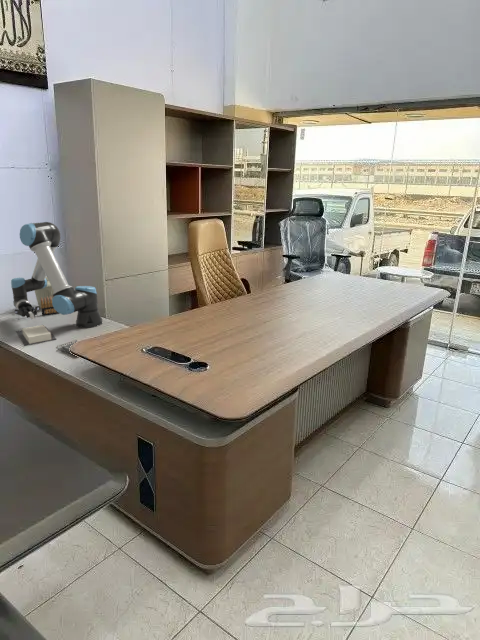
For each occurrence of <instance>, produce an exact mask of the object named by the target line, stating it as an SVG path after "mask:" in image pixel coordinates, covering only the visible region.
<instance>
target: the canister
mask: <svg viewBox="0 0 480 640" xmlns="http://www.w3.org/2000/svg"><path fill="white" fill-rule="evenodd" d="M46 280H47V286H46V287H45V288H42V289H39V290H34V293H35V299H36V303H37V305H38V308H40V309H41V297H42V300H43V304H44V297H45V299H46V303H47V297H48V299H49V303H50V296H51V299H53V292H54V290H53V288H52V286H51V284H50V282H49V280H48V278H47V276H46Z"/></svg>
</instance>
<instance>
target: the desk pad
mask: <svg viewBox="0 0 480 640" xmlns="http://www.w3.org/2000/svg"><path fill="white" fill-rule="evenodd" d="M46 329H47V330H48V331H49V332H50V333H51V338H52V339H51V340H47V341H41V342H36V343H31V344H29V342H28V341H27V340H26V338H25V337H24V335H23V331H22V329H21V330H17V331H15V334H16V335H17V336H18V338H19V340H21V342H22V343H23V346H24V347H25V346H31V345H35V344H37V345H38V344H40V343H42V344H43V343H47V342H51V341H52V342H53V341H57V338H56V337H55V335H54V334H53V333H52V332H51V331H50V330H49V329H48V328H47V327H46Z"/></svg>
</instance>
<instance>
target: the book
mask: <svg viewBox="0 0 480 640" xmlns="http://www.w3.org/2000/svg"><path fill="white" fill-rule="evenodd" d="M46 328H47V326H45V325H43V324H41V325H35V326H29V327H23V328H21V330H22V331H23V335H24V337H25V338H26V340H27V341H28V342H29V344H31V343H36V342H41V341H47V340H51V339H52V338H51V333H52V332H51V331H50V330H49V329H48V328H47V329H48V330H49V331H50V332H51V333H50V332H49V331H48V330H47V329H46ZM47 342H48V341H47ZM31 345H32V344H31Z"/></svg>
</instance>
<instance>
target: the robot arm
mask: <svg viewBox="0 0 480 640" xmlns="http://www.w3.org/2000/svg"><path fill="white" fill-rule="evenodd" d="M19 239H20V241H21V244H22V245H24V246H26V247H28V248H29V250H30V251H32V252H34V253H35V256H36V257H37V260H36V263H35V266H34V270H33V273H32V275H31V278H28V279H25V278H24V277H15V278H14V277H13V278H12V279H11V282H10V284H11V290H12V296H13V301H12V302H13V303H12V304H13V306H14V307H15V309H14V314H15V315H18V316H19V317H20V316H21V317H26V318H28V319H31V320H35V316H38V312H39V308H40V307H39V305H38V306H33V305H32V304H31V303H30V302H29V301H28V293H30V292H35V290H39V289H42V288H45V287H46V286H47V280H46V277H47V278H48V280H49V282H50V284H51V286H52V288H53V290H54V292H53V299H52V305H53V307H54V309H55V310H56V311H57V312H58V313H60V315H64V316H65V315H70V314H73V313H76V312H77V315H76V320H75V323H76V324H75V325H76V327H78V328H86V329H87V328H94V326H95V327H98V326H97V325H99V326H100V324H101V325H103V323H102V322H103V318H102V316H101V313H100V311H99V304H98V303H99V302H98V293H97V289H96V287H95V286H92V285H79V286H78V285H77V286H75V289H74V287H73V286H72V285H69V283H68V281H67V278H66V275H64V272H63V270H62V269H61V266H60V263H59V261H58V260H57V258H56V256H55V251H56V248H58V247H59V246H60V243H61V231H60V229H59V228H58V226H57V225H56V224H55V223H53V222H49V221H44V222H33V223H32V222H30V223H25V224H23V225H22V226H21V227H20V229H19ZM54 309H53V310H54Z"/></svg>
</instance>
